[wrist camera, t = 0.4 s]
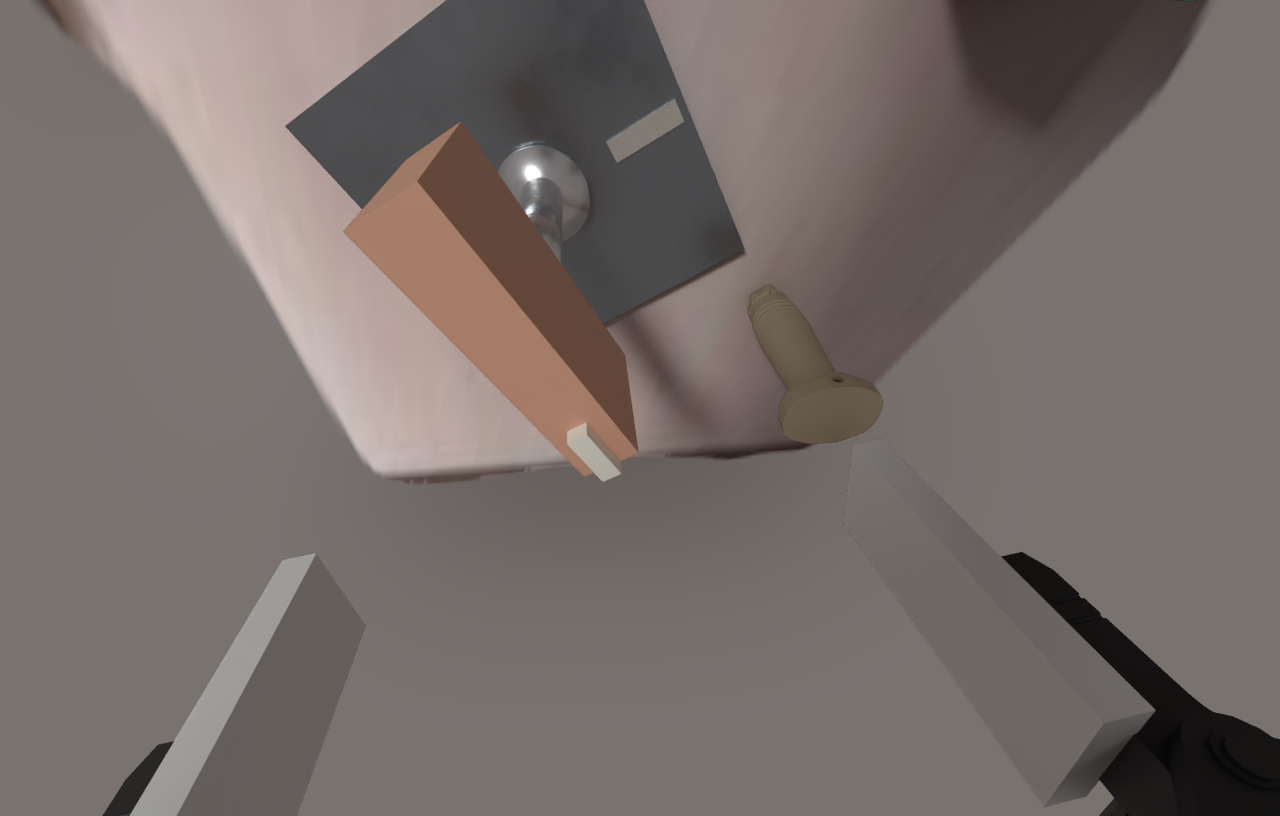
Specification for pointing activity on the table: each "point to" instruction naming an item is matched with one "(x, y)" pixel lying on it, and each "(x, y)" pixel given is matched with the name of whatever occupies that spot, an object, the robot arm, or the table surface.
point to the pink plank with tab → (501, 298)
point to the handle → (809, 376)
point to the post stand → (545, 134)
